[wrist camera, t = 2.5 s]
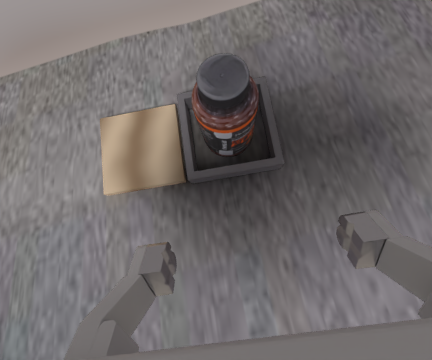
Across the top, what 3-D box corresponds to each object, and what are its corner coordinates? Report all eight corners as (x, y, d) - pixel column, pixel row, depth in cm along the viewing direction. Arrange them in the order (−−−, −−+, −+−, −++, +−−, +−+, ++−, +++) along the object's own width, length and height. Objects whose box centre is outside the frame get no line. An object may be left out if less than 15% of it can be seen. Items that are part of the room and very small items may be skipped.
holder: (262, 88, 28) (265, 76, 25) (280, 168, 26) (284, 163, 23) (182, 104, 28) (176, 94, 26) (192, 183, 26) (187, 179, 24)
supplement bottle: (238, 166, 26) (237, 127, 15) (196, 144, 27) (167, 92, 16) (261, 125, 27) (277, 58, 16) (219, 105, 28) (207, 29, 17)
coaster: (177, 107, 28) (174, 103, 27) (186, 182, 26) (184, 180, 25) (104, 122, 29) (100, 118, 28) (108, 195, 27) (103, 194, 26)
